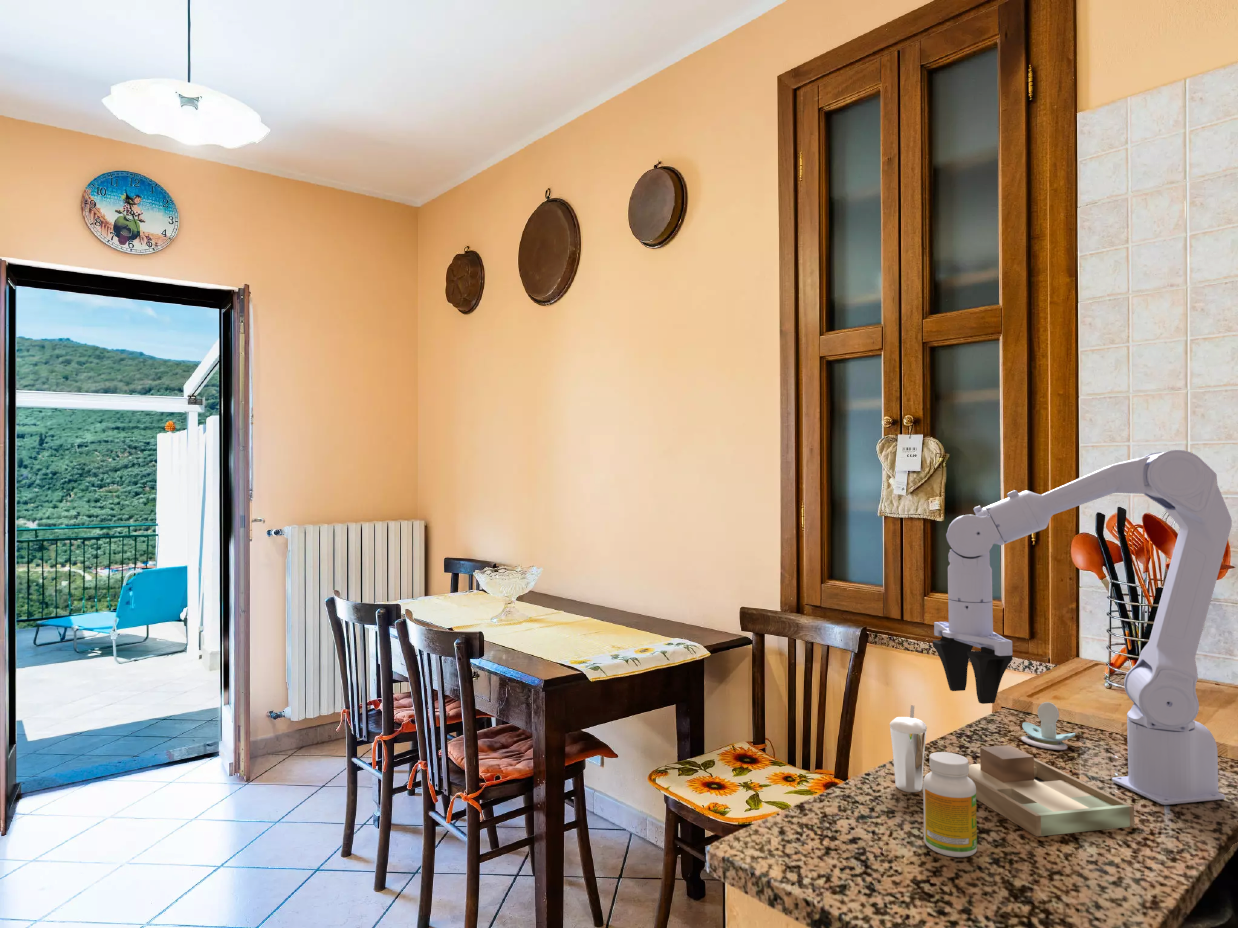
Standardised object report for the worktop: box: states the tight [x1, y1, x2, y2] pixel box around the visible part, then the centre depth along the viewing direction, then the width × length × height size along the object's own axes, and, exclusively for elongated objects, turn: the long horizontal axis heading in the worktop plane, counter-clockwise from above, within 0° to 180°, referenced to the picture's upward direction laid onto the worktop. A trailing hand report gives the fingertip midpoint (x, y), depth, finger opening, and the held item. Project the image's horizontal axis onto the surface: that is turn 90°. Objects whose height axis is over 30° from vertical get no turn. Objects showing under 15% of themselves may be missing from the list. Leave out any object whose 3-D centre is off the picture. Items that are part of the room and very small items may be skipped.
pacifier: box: [1021, 701, 1076, 751], centre depth 117 cm, size 7×6×6 cm
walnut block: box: [979, 744, 1035, 783], centre depth 101 cm, size 4×4×3 cm
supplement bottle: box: [922, 751, 978, 858], centre depth 84 cm, size 5×5×10 cm
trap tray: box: [967, 757, 1135, 837], centre depth 96 cm, size 13×18×2 cm
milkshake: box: [889, 704, 928, 793], centre depth 101 cm, size 4×5×10 cm
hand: (971, 696), depth 108 cm, fingers open, 6 cm apart
